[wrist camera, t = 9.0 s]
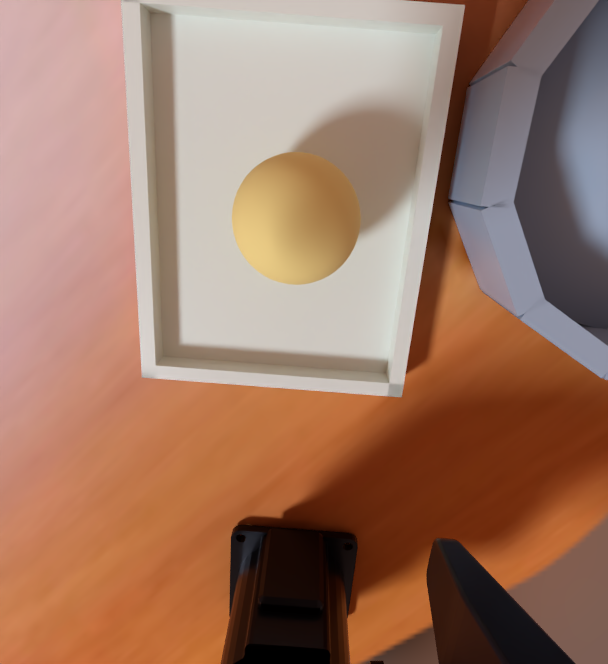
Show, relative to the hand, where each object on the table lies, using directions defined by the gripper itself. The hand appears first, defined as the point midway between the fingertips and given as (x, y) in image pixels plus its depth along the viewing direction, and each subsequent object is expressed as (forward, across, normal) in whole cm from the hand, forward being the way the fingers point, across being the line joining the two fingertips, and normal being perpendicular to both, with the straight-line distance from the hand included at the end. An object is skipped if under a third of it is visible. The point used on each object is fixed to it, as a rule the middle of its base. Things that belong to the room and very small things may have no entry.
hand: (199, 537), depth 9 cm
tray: (+12, 0, -5) cm, 13 cm away
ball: (+9, -1, -5) cm, 11 cm away
